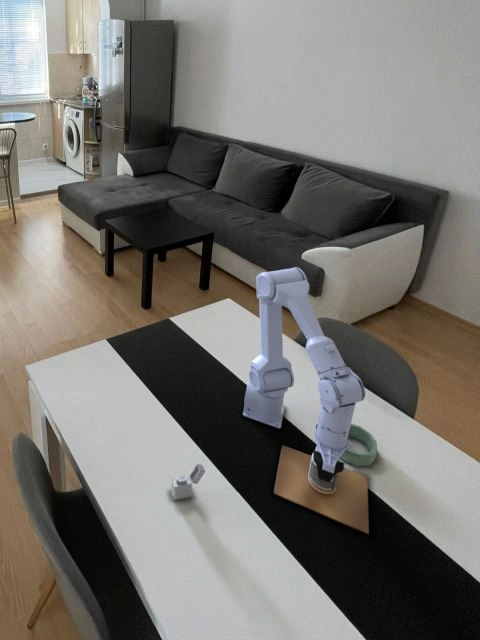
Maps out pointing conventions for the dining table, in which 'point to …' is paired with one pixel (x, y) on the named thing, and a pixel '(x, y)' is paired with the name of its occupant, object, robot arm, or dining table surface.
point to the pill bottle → (320, 484)
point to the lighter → (186, 483)
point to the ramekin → (367, 439)
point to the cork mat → (340, 505)
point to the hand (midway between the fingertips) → (324, 467)
